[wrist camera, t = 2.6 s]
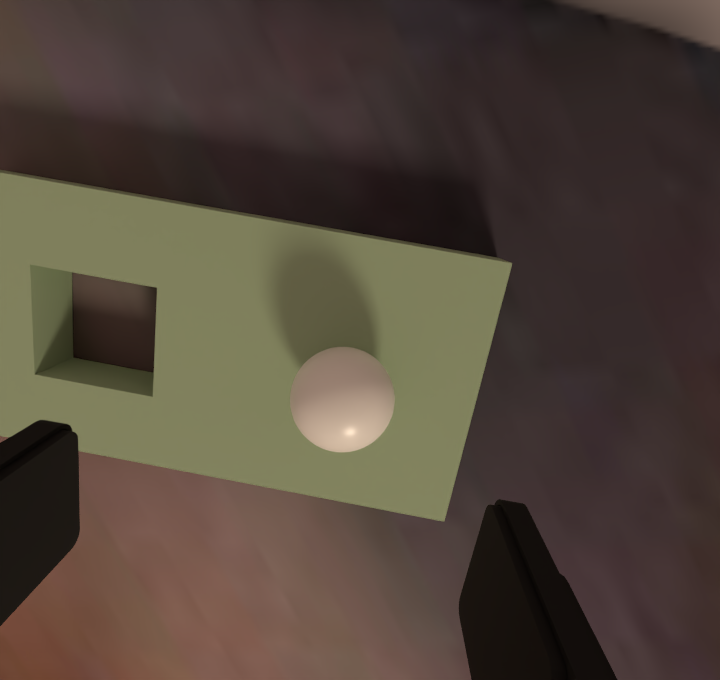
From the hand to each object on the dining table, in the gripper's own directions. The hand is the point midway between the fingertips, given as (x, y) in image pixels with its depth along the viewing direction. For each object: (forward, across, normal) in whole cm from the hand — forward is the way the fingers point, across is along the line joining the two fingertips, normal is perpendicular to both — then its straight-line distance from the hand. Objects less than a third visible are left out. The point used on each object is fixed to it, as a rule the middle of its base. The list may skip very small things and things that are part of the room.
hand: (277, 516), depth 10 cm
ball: (+7, -1, 0) cm, 7 cm away
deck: (+12, +5, 0) cm, 13 cm away
